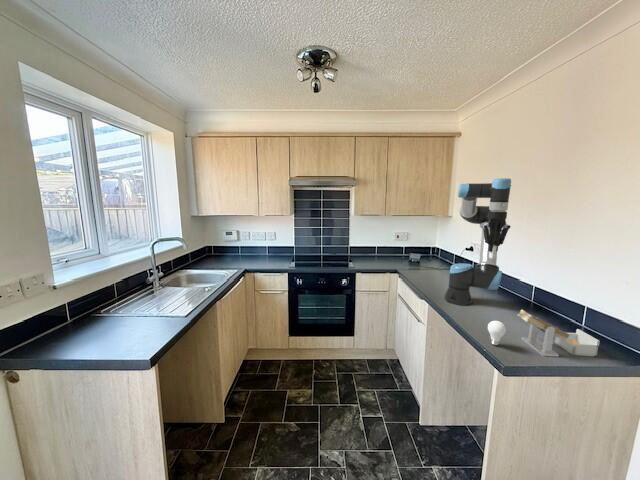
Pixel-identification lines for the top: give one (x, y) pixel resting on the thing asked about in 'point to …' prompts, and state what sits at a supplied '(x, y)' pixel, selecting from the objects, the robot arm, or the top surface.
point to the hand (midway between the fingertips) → (491, 257)
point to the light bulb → (496, 331)
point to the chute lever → (541, 324)
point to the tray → (579, 344)
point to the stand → (540, 347)
